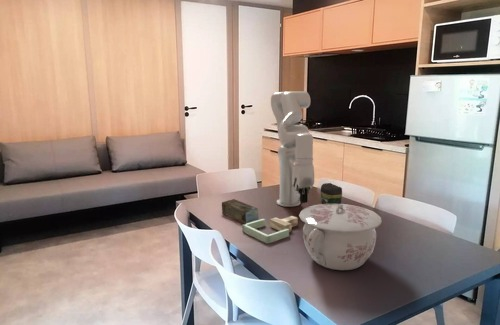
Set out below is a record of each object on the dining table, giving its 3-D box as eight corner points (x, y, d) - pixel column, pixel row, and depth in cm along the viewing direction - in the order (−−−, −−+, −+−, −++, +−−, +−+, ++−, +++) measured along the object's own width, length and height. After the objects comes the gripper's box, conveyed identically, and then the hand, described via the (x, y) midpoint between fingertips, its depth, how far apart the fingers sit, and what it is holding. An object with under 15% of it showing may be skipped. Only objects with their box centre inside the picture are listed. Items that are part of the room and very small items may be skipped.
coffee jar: (344, 227, 158) (345, 186, 154) (328, 230, 155) (329, 188, 151) (332, 220, 167) (333, 181, 163) (316, 222, 164) (317, 182, 160)
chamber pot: (357, 242, 143) (360, 191, 138) (394, 277, 116) (399, 215, 112) (288, 247, 139) (288, 195, 135) (310, 284, 112) (311, 221, 108)
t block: (287, 221, 166) (287, 213, 165) (303, 227, 158) (303, 219, 158) (269, 226, 160) (269, 219, 159) (285, 233, 152) (285, 225, 151)
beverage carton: (245, 224, 163) (245, 210, 162) (221, 214, 177) (220, 201, 176) (259, 220, 168) (258, 207, 166) (234, 210, 182) (233, 197, 181)
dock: (263, 225, 162) (263, 218, 161) (288, 236, 149) (289, 229, 148) (242, 231, 155) (242, 224, 154) (267, 243, 142) (267, 236, 141)
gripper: (309, 158, 167) (309, 197, 170) (285, 162, 158) (285, 203, 161) (321, 160, 161) (321, 200, 164) (298, 164, 152) (297, 207, 155)
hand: (303, 201), depth 162 cm, fingers closed
